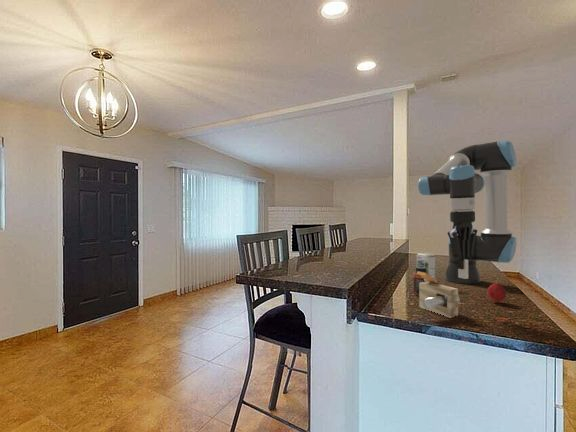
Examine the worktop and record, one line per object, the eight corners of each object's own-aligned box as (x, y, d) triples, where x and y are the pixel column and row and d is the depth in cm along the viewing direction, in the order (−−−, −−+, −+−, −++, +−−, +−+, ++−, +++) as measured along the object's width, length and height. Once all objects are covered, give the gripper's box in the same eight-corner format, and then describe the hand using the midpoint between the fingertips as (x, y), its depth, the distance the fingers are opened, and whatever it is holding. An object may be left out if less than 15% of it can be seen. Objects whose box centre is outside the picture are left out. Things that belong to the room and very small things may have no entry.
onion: (489, 299, 117) (489, 278, 117) (507, 302, 113) (507, 281, 113) (485, 302, 113) (485, 281, 113) (504, 306, 109) (504, 284, 109)
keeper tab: (429, 282, 110) (430, 279, 111) (438, 284, 107) (439, 281, 107) (416, 273, 107) (417, 270, 107) (424, 275, 104) (426, 272, 104)
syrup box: (416, 284, 142) (416, 253, 142) (424, 282, 145) (424, 252, 145) (427, 287, 137) (426, 255, 137) (435, 285, 140) (435, 253, 140)
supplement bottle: (430, 297, 122) (430, 269, 122) (415, 296, 123) (414, 268, 123) (427, 293, 128) (426, 266, 128) (412, 292, 129) (411, 265, 129)
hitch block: (427, 305, 111) (426, 281, 111) (458, 315, 101) (457, 288, 100) (419, 307, 110) (419, 282, 109) (450, 317, 99) (449, 290, 99)
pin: (446, 303, 106) (446, 288, 106) (460, 307, 102) (460, 292, 102) (419, 309, 100) (419, 294, 100) (433, 313, 96) (432, 298, 96)
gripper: (460, 211, 99) (461, 283, 100) (484, 209, 105) (485, 277, 106) (440, 211, 106) (441, 278, 107) (463, 209, 112) (464, 273, 113)
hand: (463, 277), depth 107 cm, fingers closed
